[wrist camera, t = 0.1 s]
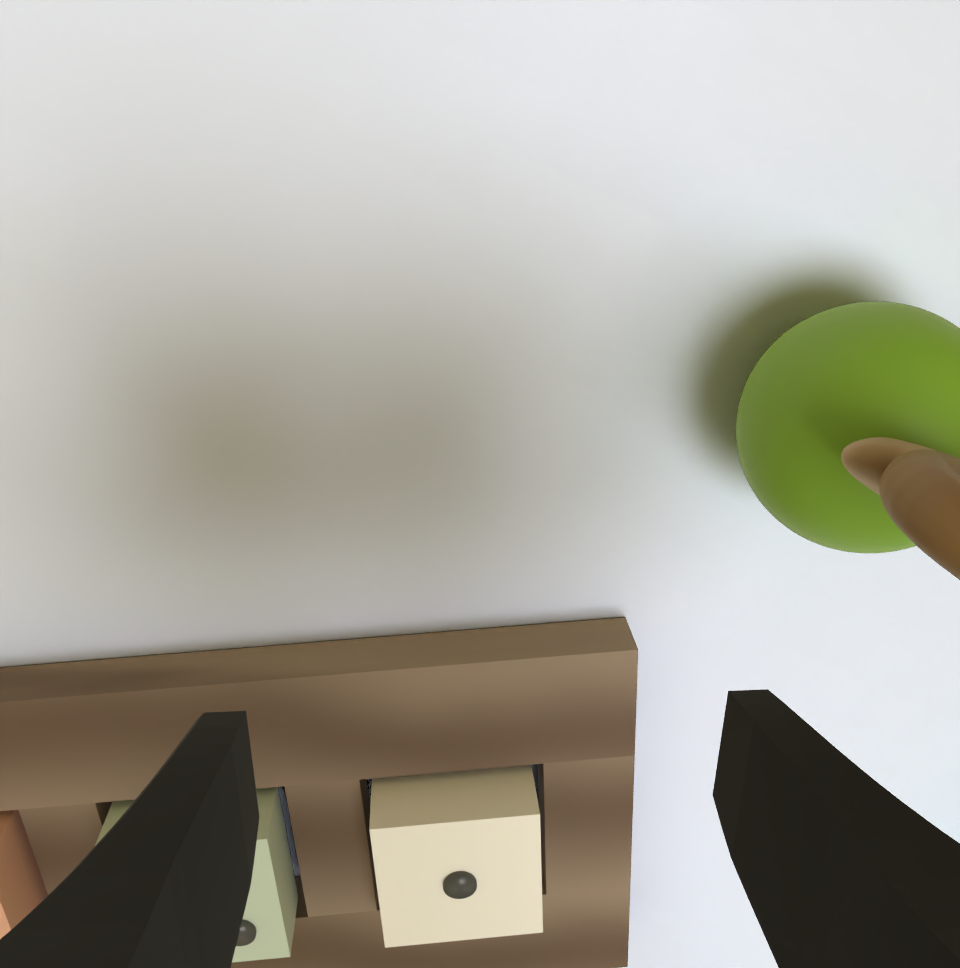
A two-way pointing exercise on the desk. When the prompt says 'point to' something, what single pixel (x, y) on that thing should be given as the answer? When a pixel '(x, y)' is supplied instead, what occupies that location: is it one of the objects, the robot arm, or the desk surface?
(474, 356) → the desk surface
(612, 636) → the button board
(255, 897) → the sage button
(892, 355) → the green wooden maraca
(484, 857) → the cream button
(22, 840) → the terracotta button
